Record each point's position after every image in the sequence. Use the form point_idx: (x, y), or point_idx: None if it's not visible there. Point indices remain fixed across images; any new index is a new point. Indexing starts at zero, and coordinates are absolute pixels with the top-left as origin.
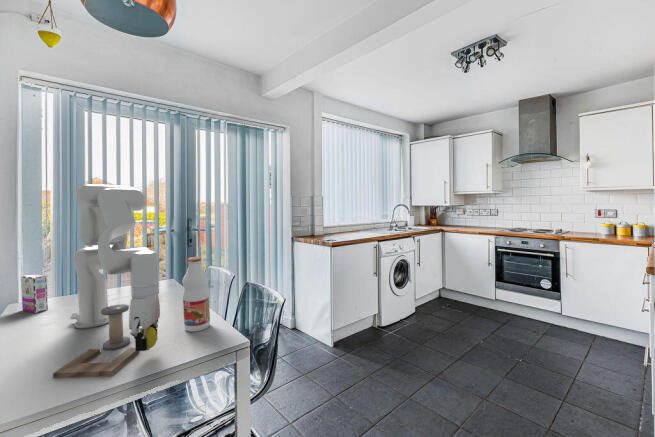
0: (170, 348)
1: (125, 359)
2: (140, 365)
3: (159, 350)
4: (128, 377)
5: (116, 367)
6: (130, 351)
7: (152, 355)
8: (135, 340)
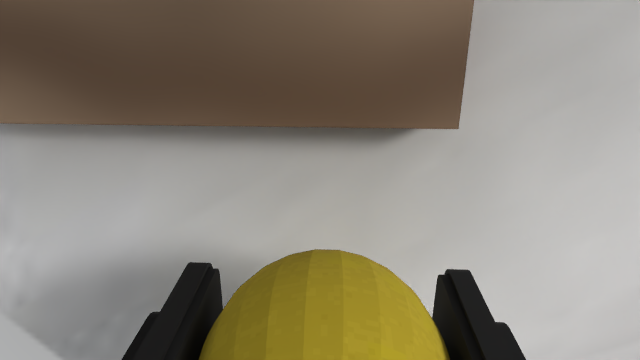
0: None
1: (189, 124)
2: (182, 256)
3: None
4: (5, 256)
5: (39, 122)
6: (366, 78)
7: None
8: (135, 357)
